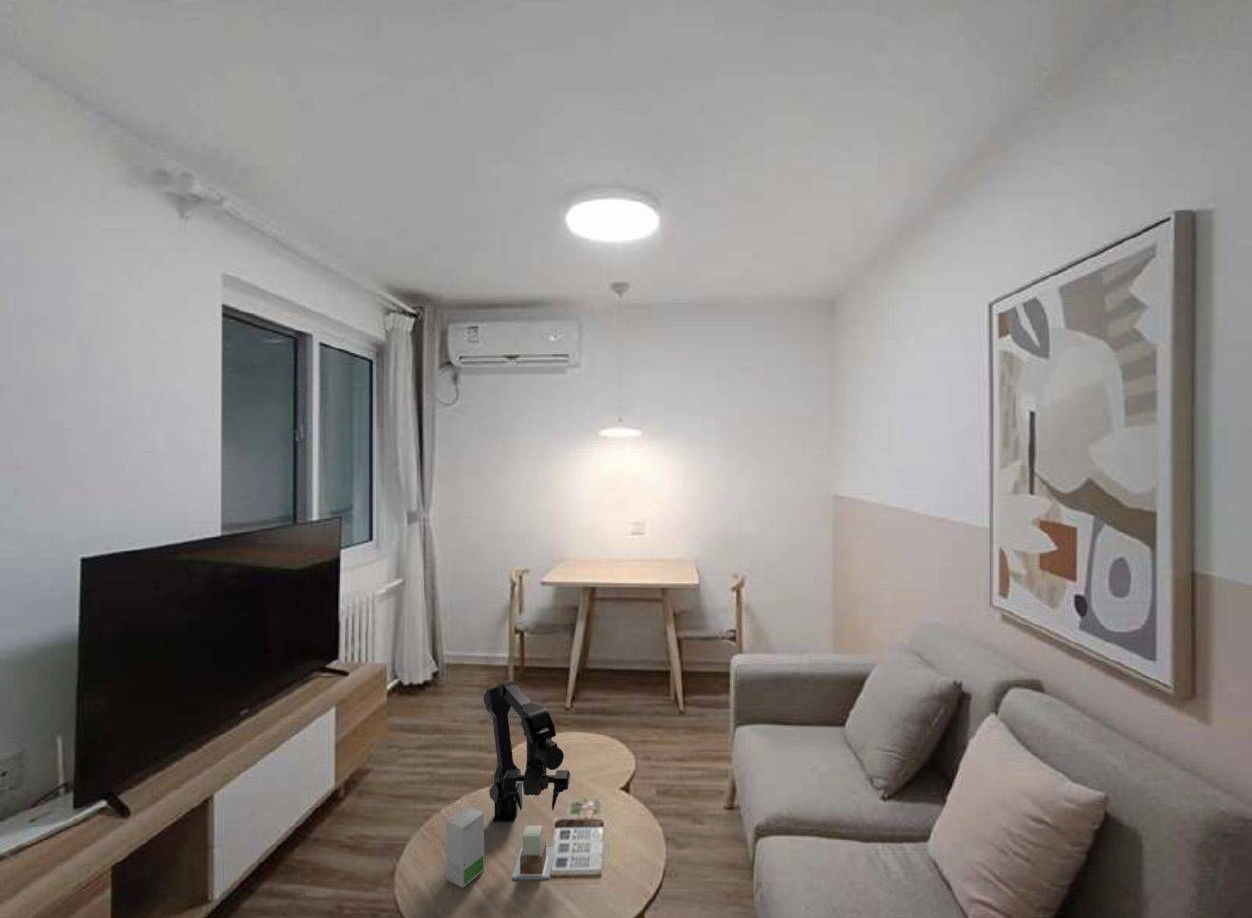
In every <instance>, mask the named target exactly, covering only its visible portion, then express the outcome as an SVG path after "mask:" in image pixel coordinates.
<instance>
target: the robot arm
mask: <svg viewBox="0 0 1252 918" xmlns="http://www.w3.org/2000/svg"><path fill="white" fill-rule="evenodd" d="M483 703H484V704H485V709H486V711H487V712H488V713H489V715H490V716H491V717H492V724H493V733H494V734H493V735H494V742H495V751H496V760H497V766H496V770H495V772H494V774H493V784H492V786H491V787H490V788H489V789H488V793H489V798H490V799H491V800H492V801H493V802H494V804H493V805H494V816H493V819H492V820H493V821H492V822H514V821H515V818H516V816H517V814H518V813H519V810H522V809H523V803H524V802H523V801H524V800H523V795H524V796H540V795H541V793H542V791H544V792H545V790H548V789H549V784H553V789H552V800H551V801H552V802H551V810H552V811H554V809H555V807H556V806H555V805H556V802H557V799H558V796H559V794H560V793H563V792H564V791H566V790H568V789H569V785H570V780H571V772H570V770H568V769H558V768H559V767H560V766H561V765H562V764H563V761H564V758H565V757H564V752H563V750H562V749H561V748H560V747H558V743H557V742H556V741H554V740H552V739H553V738H554V737H557V734H556V727H555V724H554V722H553V720H552V717H551V715H550V712H549V711H548V710H547V709H546V708H545V707H544V706H542V705H541V704H537V703H533V702H532V701H531V700H530V699H529V697H527V695H526V694H525V693H524V692H523V691H522V690H521V689H520V687H518V684H517V682H516V681H515V680H510V681H506V682H503V683H500V684H499V685H498V686H497V685H496V687H492V688H489V689H487V690H486V691H485V693H484V694H483ZM511 708H512V709H513V710H514V712H516V714H517V715H518V716H519V717H520V726H521V727H522V730H523V735H524V737H526V763H525V764H526V765H525V771H524V774H522V771H521V769H520V768H518V766H516V764H515V763H514V756H513V749H512V741H511V740H512V739H511V731H510V723H509V712H510V710H511ZM543 731H544V732H543ZM548 770H550V771H555V770H556V771H555V774H554V775H553V774H551V775H550V774H549V775H548V772H547V771H548Z"/></svg>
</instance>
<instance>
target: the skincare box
mask: <svg viewBox="0 0 1252 918" xmlns="http://www.w3.org/2000/svg"><path fill="white" fill-rule="evenodd" d="M484 818H485V816H484V812H483V811H480V810H478V809H475V808H472V807H470V806H468V807H466V808H464V809H463V810H461V811H459V812H457V813H455V814H454V815H453V816H452V817H450V818H448V819H447V820H446V822H445V824H446V880H447V881H448V882H450V883H452V884H453V885H456V886H458V887H460V888H464V887H466V886H467V885H468V884H469V883H471V882H472V881H473V880H474V879H475V878H477V877H478V876H479V875H481V874H482V873H483V872H484V871H485V819H484Z"/></svg>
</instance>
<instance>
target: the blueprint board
mask: <svg viewBox="0 0 1252 918" xmlns="http://www.w3.org/2000/svg"><path fill="white" fill-rule="evenodd" d="M553 847H554V846H546V861H545V865H544V869H543V874H520V855H521V852H522V849H523V846H520V848H519V852H518V856H517V858H516V859H517V860H516V862H515V866H514V870H513V873H512V876H511V880H515V881H516V880H550V877H551V875H552V869H553V868H552V867H553V864H552V863H554V859H553V850H554V848H553ZM551 868H552V869H551Z"/></svg>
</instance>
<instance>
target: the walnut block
mask: <svg viewBox="0 0 1252 918" xmlns="http://www.w3.org/2000/svg"><path fill="white" fill-rule="evenodd" d="M546 847H547V842H545V841H543V845H542V849H541V853H540V855H523V849H522V852H521V855H520V874H543V869H544V865H545V861H546Z"/></svg>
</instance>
